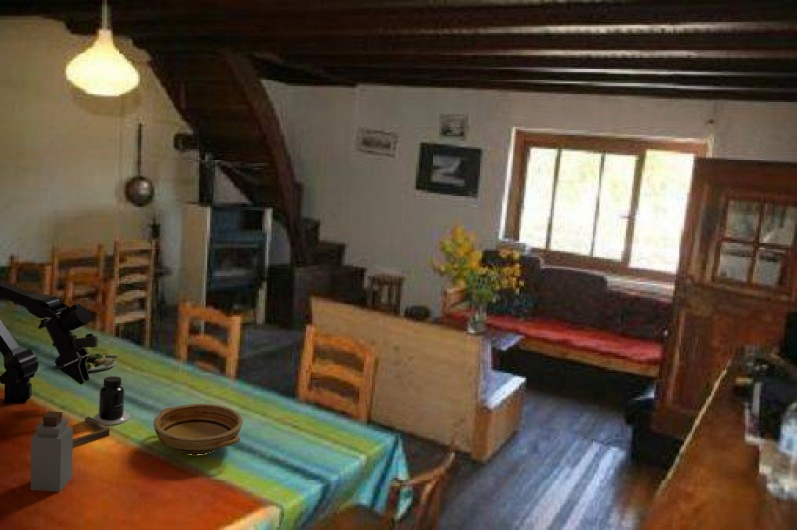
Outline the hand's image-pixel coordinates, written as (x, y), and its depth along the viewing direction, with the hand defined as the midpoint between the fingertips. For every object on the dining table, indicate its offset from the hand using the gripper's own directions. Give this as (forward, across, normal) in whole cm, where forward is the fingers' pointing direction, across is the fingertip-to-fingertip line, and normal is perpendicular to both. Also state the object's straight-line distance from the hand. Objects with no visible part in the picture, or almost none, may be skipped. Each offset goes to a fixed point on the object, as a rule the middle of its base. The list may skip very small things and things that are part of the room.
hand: (85, 381), depth 197 cm
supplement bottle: (+13, -3, -3) cm, 13 cm away
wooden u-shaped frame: (+12, -13, +5) cm, 19 cm away
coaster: (+13, -3, -3) cm, 14 cm away
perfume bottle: (+18, -39, +9) cm, 44 cm away
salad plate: (-3, +42, +6) cm, 43 cm away
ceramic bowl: (+30, -22, -23) cm, 43 cm away
